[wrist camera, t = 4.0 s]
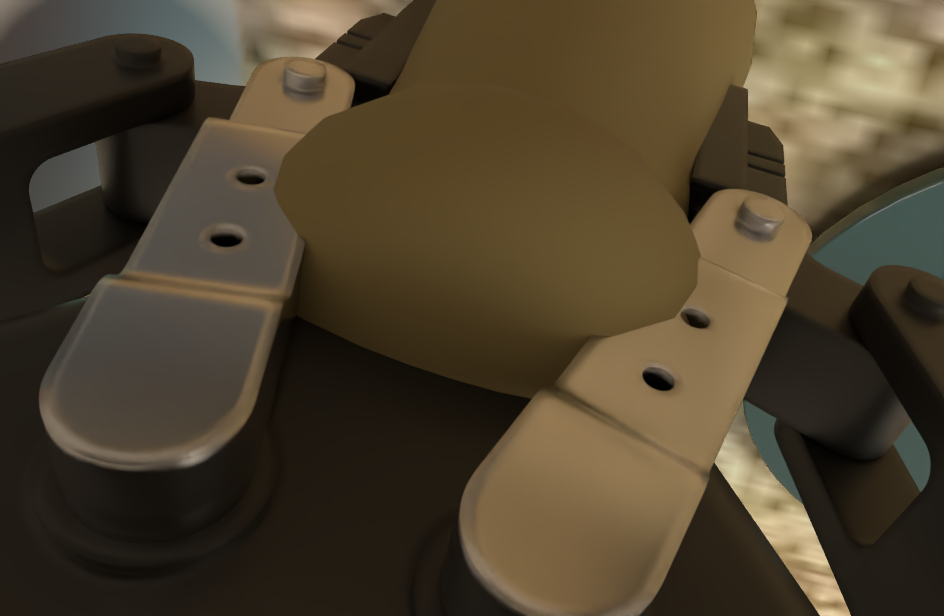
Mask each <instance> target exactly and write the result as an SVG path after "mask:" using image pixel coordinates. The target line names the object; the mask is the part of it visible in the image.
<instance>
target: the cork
mask: <svg viewBox="0 0 944 616" xmlns="http://www.w3.org/2000/svg"><path fill="white" fill-rule="evenodd" d="M756 17H757V11H756V6H755V2H754V0H436V2H435V4H434V6H433V8H432V10H431V12H430V14H429V16H428V18H427V20H426V22H425V24H424V26H423V28H422V30H421V32H420V34H419V36H418V38H417V40H416V42H415V44H414V46H413V48H412V50H411V52H410V54H409V57H408V59H407V61H406V64H405V66H404V68H403V71H402V72H401V74H400V75H399V77H398V79H397V80H396V82H395V84H394V86H393V88H392V89H391V91H390V93H389V95H387V96H384V97H381V98H378V99H375V100H372V101H370V102H367V103H364V104H361V105H358V106H355V107H352V108H350V109H347V110H344V111H341V112H339V113H336V114H333V115H330V116H328V117H325V118H324V119H323V120H321V121H320V122H319V123H318V124H317V125H316V126H315V127H313V128H312V129H311V130H310V131H309V132H308V133H307V134H306V135H305V136H304V137H303V138H302V139H301V140H300V141H299V142H298V143H297V144H296V145H295V146H294V147H293V148H292V149H290V150H289V151H288V152H287V153H286V154H285V155H284V157H283V160H282V164H281V167H280V170H279V173H278V177H277V180H276V183H275V187H274V193H275V196H276V199H277V202H278V204H279V206H280V208H281V209H282V211H283V212H284V214H285V216H286V217H287V219H288V220H289V222H290V223H291V225H292V227H293V228H294V230H295V231H296V233H297V234H298V235H300V236H301V237H303V238H304V239H306V245H305V253H304V261H303V268H302V276H301V285H300V295H299V305H298V309H297V313H296V315H297V316H299V317H301V318H303V319H305V320H306V321H308V322H310V323H313V324H315V325H317V326H319V327H321V328H323V329H325V330H327V331H329V332H332V333H334V334H336V335H338V336H340V337H342V338H344V339H346V340H348V341H350V342H353V343H355V344H357V345H359V346H361V347H364V348H366V349H369V350H371V351H374V352H377V353H379V354H382V355H385V356H387V357H390V358H392V359H395V360H398V361H400V362H403V363H406V364H408V365H411V366H414V367H417V368H420V369H423V370H426V371H429V372H432V373H435V374H438V375H441V376H444V377H447V378H451V379H454V380H458V381H461V382H465V383H468V384H472V385H475V386H479V387H482V388H486V389H489V390H493V391H496V392H501V393H506V394H511V395H516V396H521V397H526V398H531V399H532V398H533V397H534V396H535V395H536V394H537V393H538V392H539V391H540V390H541V389H542V388H543V387H545V386H552V385H553V384H554V383H555V382H556V381H557V379H558V378H559V377H560V376H561V374H562V373H563V372H564V371H565V369H566V368H567V367H568V365H569V364H570V363H571V361H572V360H573V359H574V358H575V356H576V355H577V354H578V352H579V351H580V350H581V348H582V347H583V346H584V345H585V343H586V342H587V341H588V339H589V338H590V337H591V335H602V336H616V335H620V334H623V333H626V332H630V331H633V330H636V329H640V328H643V327H646V326H650V325H653V324H657V323H660V322H663V321H667V320H670V319H673V318H675V317H676V315H677V314H678V313H679V311H680V310H681V308H682V307H683V305H684V304H685V302H686V301H687V299H688V298H689V297H690V295H691V294H692V292H693V291H694V289H695V288H696V286H697V275H698V261H699V258H700V257H701V254H700V251H699V248H698V245H697V242H696V239H695V236H694V234H693V232H692V229H691V227H690V224H689V222H688V210H689V195H690V186H689V185H690V180H691V175H692V170H693V165H694V161H695V157H696V155H697V153H698V151H699V149H700V147H701V145H702V143H703V141H704V139H705V137H706V135H707V133H708V131H709V129H710V127H711V125H712V123H713V121H714V119H715V117H716V115H717V113H718V111H719V109H720V107H721V105H722V103H723V100H724V98H725V96H726V93H727V91H728V89H729V86H730V85H731V84H732V85H735V86H739V87H742V88H743V85H744V83H745V80H746V77H747V75H748V72H749V69H750V67H751V63H752V54H753V45H754V36H755V26H756ZM680 315H681V318H682V320H683V321H684V322H685V323H686V324H688V325H690V324H689V321H688V318H687V316H686V315H685V313H683V312H681V314H680Z"/></svg>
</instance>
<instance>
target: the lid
mask: <svg viewBox="0 0 944 616" xmlns="http://www.w3.org/2000/svg"><path fill="white" fill-rule="evenodd" d="M806 253H807V254H809V255H810V256H811V257H812V258H814V259H815V260H816V261H818V262H819V263H821V264H822V265H824V266H826V267H827V268H829V269H831V270H833V271H835V272H837V273H839V274H841V275H843V276H845V277H847V278H849V279H851V280H853V281H855V282H857V283H859V284H861V285H863V286H864V284H865V283H866V281H867V280H868V278H869V277H870V275H871V274H872V272H873V271H874V270H875V269H877V268H879V267H882V266H886V265H901V266H907V267H911V268H915V269H919V270H922V271H924V272H927V273H930V274H932V275H934V276H936V277H939V278H940V279H942V280H944V167H942V168H938V169H935V170H933V171H931V172H928V173H926V174H924V175H921V176H919V177H917V178H914V179H912V180H910V181H908V182H905V183H903V184H901V185H898V186H896V187H894V188H892V189H890V190H888V191H887V192H885V193H883V194H881V195H880V196H878V197H876V198H874V199H872V200H871V201H869V202H867V203H865V204H863V205H862V206H860V207H858V208H857V209H855V210H854V211H852V212H851V213H850V214H848V215H847V216H845V217H844V218H842V219H841V220H840V221H838V222H837V223H835V224H834V225H833V226H831V227H830V228H828V229H827V230H826V231H825V232H824V233H822V234H821V235H820V236H819V237H818V238H817V239H816V240H815V241H814V242H812V243H811V244H810V245H809V247H808V249H807V251H806ZM743 407H744V415H745V418H746V422H747V425H748V429H749V432H750V436H751V438H752V440H753V442H754V444H755V446H756V448H757V450H758V452H759V454H760V456H761V458H762V459H763V461H764V462H765V464H766V465H767V466H768V468H769V469H770V471H771V472H772V473H773V475H774V476H775V478H776V479H777V480H778V481H779V482H780V483H781V484H782V485H783V486H784V487H785V488H786V489H787V490H788V491H789V492H790V494H791V495H792V496H794V497H795V498H796V499H797V500H799V501H800V502H801V503H802V504H803V502H802V500H801V497H800V495H799V493H798V491H797V488H796V486H795V484H794V481H793V479H792V477H791V474H790V472H789V470H788V467H787V465H786V463H785V460H784V458H783V456H782V453H781V451H780V449H779V446H778V444H777V442H776V438H775V435H774V424H775V422H776V418H775V417H773V416H771V415H769V414H768V413H766V412H764V411H763V410H761V409H759V408H757V407H756V406H754V405H752V404H751V403H749V402H747V401H745V400H744V399H743ZM894 446H895V448H896V450H897V451H898V453H899V455H900V457H901V458H902V460H903V462H904V464H905V466H906V467H907V469H908V471H909V473H910V474H911V476H912V478H913V480H914V481H915V483H916V485H917V487H918V488H919V490H920V492H921V491H922V490H923V489H924V488H925V486H926V484H927V482H928V479H929V475H930V466H931V464H930V456H929V452H928V449H927V446H926V444H925V442H924V441H923V439H922V437H921V436H920V434H919V432H918V431H917V429H916V427H915V426H914V424H913V422H911V423H910V424H909V425H908V426H907V428H906V429H905V430H904V431H903V433H902V434H901V435H900V436H899V437H898V439H897V440H896V441H895V442H894ZM803 505H804V504H803Z"/></svg>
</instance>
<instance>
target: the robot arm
mask: <svg viewBox="0 0 944 616" xmlns="http://www.w3.org/2000/svg"><path fill="white" fill-rule="evenodd" d="M435 2H436V0H413V1H412V2H411V3H410V4H409V5H408V6H407V7H406V8H405V9H403V10H402V11H401V12H400V13H399V14H398V15H397V16H396V17H395V16H392V15H388V14H385V13H383V14H379V15H376V16H372V17H369V18H365V19H361V20H360V21H359V22H357V23H356V24H355V25H354V26H353V27H352V28H350V29H349V30H348V32H347V34H346V33H345V34H344V35H342V36H341V37H340V38H339V39H338V40H337V43H335V42H334V43H333V44H332V45H331V46H330V47H328V48H327V49H326V50H325V51H324V52H323V53H321V54H320V55H319V56H318V57H317V58H316V59H311V58H304V57H283V58H276V59H271V60H268V61H265V62H263V63H261V64H260V65H258V66H257V67H256V68H255V70H254V71H253V73H252V75H251V77H250V79H249V81H248V83H247V85H246V86H236V85H228V84H220V83H212V82H205V81H197V80H195V74H194V58H193V55H192V53H191V52H190V50H188V49H187V48H186V47H185V46H183V45H182V44H180V43H178V42H175V41H173V40H170V39H167V38H163V37H159V36H154V35H147V34H117V35H110V36H105V37H101V38H97V39H94V40H90V41H87V42H82V43H78V44H75V45H71V46H67V47H63V48H59V49H55V50H52V51H48V52H44V53H40V54H36V55H32V56H29V57H25V58H21V59H17V60H13V61H10V62H6V63H2V64H0V616H820V615H819V614H818V612H817V611H816V609H815V608H814V606H813V605H812V603H811V602H810V601H809V599H808V598H807V596H806V595H805V593H804V592H803V590H802V589H801V588H800V586H799V585H798V583H797V582H796V580H795V579H794V577H793V576H792V575H791V573H790V572H789V570H788V569H787V567H786V566H785V564H784V563H783V562H782V560H781V559H780V557H779V556H778V554H777V553H776V551H775V550H774V549H773V547H772V546H771V544H770V543H769V541H768V540H767V538H766V537H765V536H764V534H763V533H762V531H761V530H760V528H759V527H758V525H757V524H756V523H755V521H754V520H753V518H752V517H751V515H750V514H749V512H748V511H747V509H746V508H745V507H744V505H743V504H742V502H741V501H740V499H739V498H738V496H737V495H736V494H735V492H734V491H733V489H732V488H731V486H730V485H729V483H728V482H727V481H726V479H725V478H724V476H723V475H722V473H721V472H720V470H719V469H718V467H717V466H716V465H715V463H714V461H715V459H716V457H717V454H718V452H719V450H720V448H721V446H722V444H723V441H724V439H725V437H726V435H727V433H728V430H729V428H730V426H731V424H732V422H733V420H734V417H735V415H736V413H737V411H738V409H739V406H740V404H741V402H742V400H743V399H744V400H745V401H747V402H749V403H751V404H752V405H754V406H756V407H757V408H759V409H761V410H763V411H764V412H766V413H768V414H769V415H771V416H773V417H775V418H776V422H775V424H774V435H775V438H776V442H777V444H778V446H779V449H780V451H781V453H782V456H783V458H784V460H785V463H786V465H787V467H788V470H789V472H790V474H791V477H792V479H793V481H794V484H795V486H796V488H797V491H798V493H799V495H800V497H801V500H802V502H803V504H804V507H805V509H806V511H807V514H808V516H809V518H810V521H811V523H812V525H813V528H814V530H815V532H816V535H817V537H818V539H819V542H820V544H821V546H822V549H823V551H824V553H825V556H826V558H827V560H828V563H829V565H830V567H831V570H832V572H833V574H834V577H835V579H836V581H837V584H838V586H839V588H840V591H841V593H842V595H843V598H844V600H845V602H846V605H847V607H848V609H849V612H850V614H851V616H944V280H942V279H940V278H939V277H936V276H934V275H932V274H930V273H927V272H924V271H922V270H919V269H915V268H911V267H907V266H901V265H886V266H882V267H879V268H877V269H875V270H874V271H873V272H872V274H871V275H870V277H869V278H868V280H867V281H866V283H865V284H864V286H863V285H861V284H859V283H857V282H855V281H853V280H851V279H849V278H847V277H845V276H843V275H841V274H839V273H837V272H835V271H833V270H831V269H829V268H827V267H826V266H824V265H822V264H821V263H819V262H818V261H816V260H815V259H814V258H812V257H811V256H810V255H809V254H807V253H806V251H807V249H808V247H809V245H810V242H811V239H812V232H811V230H810V227H809V226H808V224H807V223H806V221H805V220H804V219H803V218H802V217H801V216H800V215H799V214H798V213H797V212H795V211H794V210H793V209H791V208H790V207H788V204H787V190H786V178H784V177H785V165H784V150H783V145H782V143H781V142H780V141H779V139H778V138H777V137H776V135H775V134H774V133H773V132H772V130H771V129H770V128H769V127H767V126H763V125H760V124H756V123H753V122H750V121H748V89H746V88H742V87H739V86H735V85H732V84H731V85H730V86H729V89H728V91H727V93H726V96H725V98H724V100H723V103H722V105H721V107H720V109H719V111H718V113H717V115H716V117H715V119H714V121H713V123H712V125H711V127H710V129H709V131H708V133H707V135H706V137H705V139H704V141H703V143H702V145H701V147H700V149H699V151H698V153H697V155H696V157H695V161H694V165H693V170H692V175H691V180H690V185H689V186H690V195H689V210H688V222H689V224H690V227H691V229H692V232H693V234H694V236H695V239H696V242H697V245H698V248H699V251H700V254H701V257H700V258H699V261H698V275H697V286H696V288H695V289H694V291H693V292H692V294H691V295H690V297H689V298H688V299H687V301H686V302H685V304H684V305H683V307H682V308H681V310H680V311H679V313H678V314H677V315H676V317H675V318H673V319H670V320H667V321H663V322H660V323H657V324H653V325H650V326H646V327H643V328H640V329H636V330H633V331H630V332H626V333H623V334H620V335H616V336H602V335H591V337H590V338H589V339H588V341H587V342H586V343H585V345H584V346H583V347H582V348H581V350H580V351H579V352H578V354H577V355H576V356H575V358H574V359H573V360H572V361H571V363H570V364H569V365H568V367H567V368H566V369H565V371H564V372H563V373H562V374H561V376H560V377H559V378H558V379H557V381H556V382H555V383H554V384H553V385H552V386H545V387H543V388H542V389H541V390H540V391H539V392H538V393H537V394H536V395H535V396H534V397H533V398H532V399H531V398H526V397H521V396H516V395H511V394H506V393H501V392H496V391H493V390H489V389H486V388H482V387H479V386H475V385H472V384H468V383H465V382H461V381H458V380H454V379H451V378H447V377H444V376H441V375H438V374H435V373H432V372H429V371H426V370H423V369H420V368H417V367H414V366H411V365H408V364H406V363H403V362H400V361H398V360H395V359H392V358H390V357H387V356H385V355H382V354H379V353H377V352H374V351H371V350H369V349H366V348H364V347H361V346H359V345H357V344H355V343H353V342H350V341H348V340H346V339H344V338H342V337H340V336H338V335H336V334H334V333H332V332H329V331H327V330H325V329H323V328H321V327H319V326H317V325H315V324H313V323H310V322H308V321H306V320H305V319H303V318H301V317H299V316H297V315H296V313H297V309H298V305H299V295H300V285H301V276H302V268H303V261H304V253H305V245H306V239H304V238H303V237H301V236H300V235H298V234H297V233H296V231H295V230H294V228H293V227H292V225H291V223H290V222H289V220H288V219H287V217H286V216H285V214H284V212H283V211H282V209H281V208H280V206H279V204H278V202H277V199H276V196H275V193H274V187H275V183H276V180H277V177H278V173H279V170H280V167H281V164H282V160H283V157H284V155H285V154H286V153H287V152H288V151H289V150H290V149H292V148H293V147H294V146H295V145H296V144H297V143H298V142H299V141H300V140H301V139H302V138H303V137H304V136H305V135H306V134H307V133H308V132H309V131H310V130H311V129H312V128H313V127H315V126H316V125H317V124H318V123H319V122H320V121H321V120H323V119H324V118H325V117H328V116H330V115H333V114H336V113H339V112H341V111H344V110H347V109H350V108H352V107H355V106H358V105H361V104H364V103H367V102H370V101H372V100H375V99H378V98H381V97H384V96H387V95H389V93H390V91H391V89H392V88H393V86H394V84H395V82H396V80H397V79H398V77H399V75H400V74H401V72H402V71H403V68H404V66H405V64H406V61H407V59H408V57H409V54H410V52H411V50H412V48H413V46H414V44H415V42H416V40H417V38H418V36H419V34H420V32H421V30H422V28H423V26H424V24H425V22H426V20H427V18H428V16H429V14H430V12H431V10H432V8H433V6H434V4H435ZM93 142H95V143H96V149H97V156H98V165H99V172H100V180H101V186H98V187H96V188H94V189H91V190H89V191H86V192H84V193H81V194H79V195H76V196H74V197H71V198H69V199H67V200H64V201H62V202H59V203H57V204H55V205H52V206H50V207H47V208H45V209H42V210H40V211H37V212H35V213H33V211H32V206H31V202H30V196H29V183H30V179H31V177H32V175H33V173H34V172H35V170H36V169H37V168H38V167H39V166H40V165H41V164H42V163H43V162H45V161H46V160H48V159H50V158H52V157H55V156H58V155H60V154H63V153H66V152H69V151H71V150H74V149H77V148H80V147H82V146H85V145H88V144H91V143H93ZM90 293H91V294H90ZM88 294H90V295H89V296H88V297H85V296H86V295H88ZM83 297H84V298H83ZM681 312H683V313H685V315H686V316H687V318H688V321H689V324H690V325H688V324H686V323H685V322H684V321H683V320H682V318H681V315H680V314H681ZM911 422H913V424H914V426H915V427H916V429H917V431H918V432H919V434H920V436H921V437H922V439H923V441H924V442H925V444H926V446H927V449H928V452H929V456H930V464H931V466H930V475H929V479H928V482H927V484H926V486H925V488H924V489H923V490H922V491H921V492H920V490H919V488H918V487H917V485H916V483H915V481H914V480H913V478H912V476H911V474H910V473H909V471H908V469H907V467H906V466H905V464H904V462H903V460H902V458H901V457H900V455H899V453H898V451H897V450H896V448H895V446H894V442H895V441H896V440H897V439H898V437H899V436H900V435H901V434H902V433H903V431H904V430H905V429H906V428H907V426H908V425H909V424H910V423H911Z"/></svg>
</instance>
